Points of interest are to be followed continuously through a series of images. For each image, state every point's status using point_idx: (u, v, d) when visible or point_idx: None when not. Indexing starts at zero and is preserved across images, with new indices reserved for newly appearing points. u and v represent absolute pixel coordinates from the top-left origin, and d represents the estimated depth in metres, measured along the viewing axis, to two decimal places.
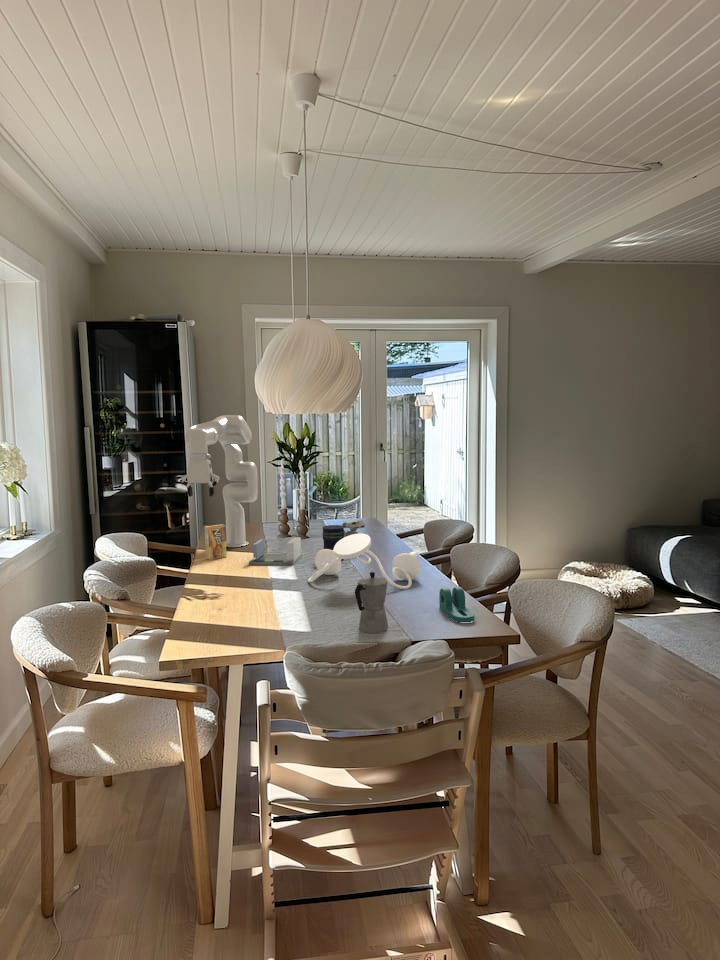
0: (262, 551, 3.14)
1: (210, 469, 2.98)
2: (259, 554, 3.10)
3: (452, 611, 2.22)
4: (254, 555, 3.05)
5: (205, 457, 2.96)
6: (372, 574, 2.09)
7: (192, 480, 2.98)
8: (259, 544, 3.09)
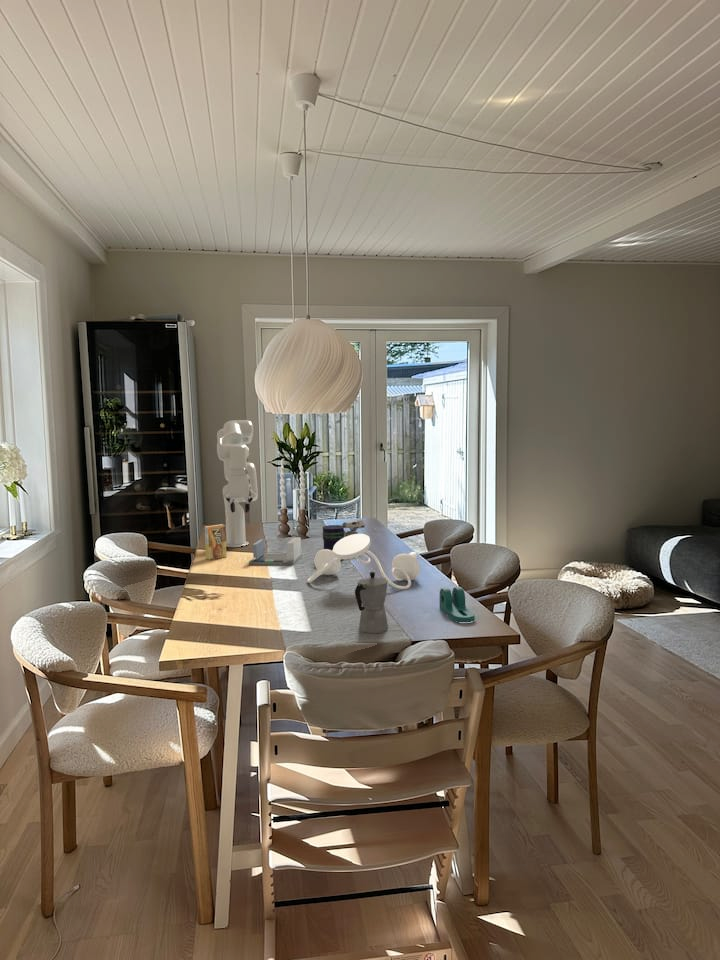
0: (262, 551, 3.14)
1: (249, 484, 3.08)
2: (259, 554, 3.10)
3: (452, 610, 2.22)
4: (254, 555, 3.05)
5: (244, 472, 3.06)
6: (372, 574, 2.09)
7: (232, 495, 3.08)
8: (259, 544, 3.09)
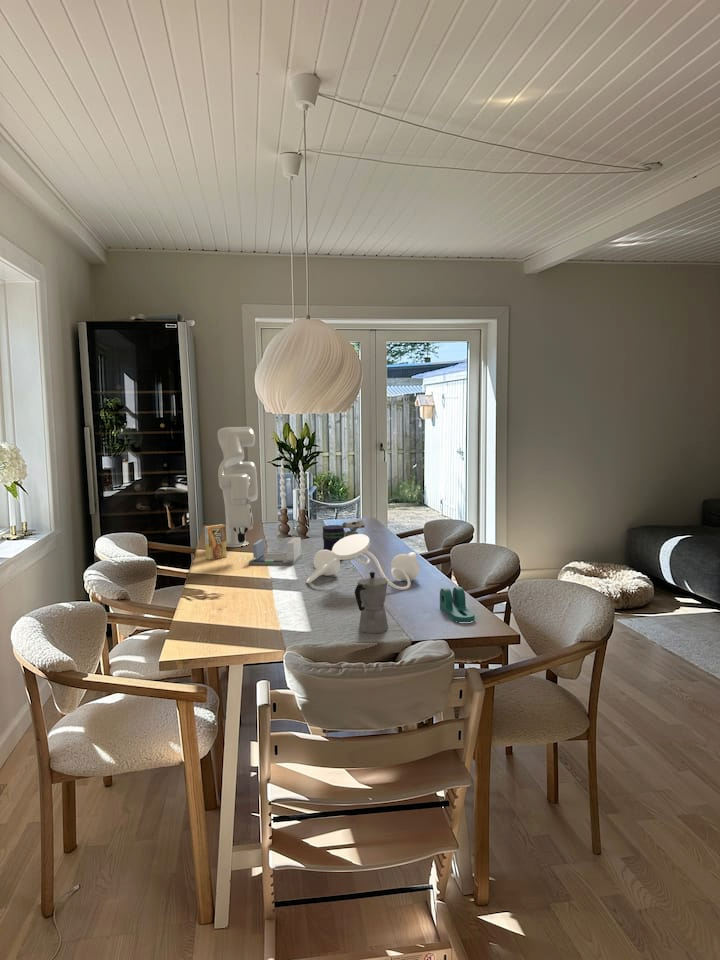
0: (262, 551, 3.14)
1: (250, 513, 3.09)
2: (259, 554, 3.10)
3: (452, 610, 2.22)
4: (254, 555, 3.05)
5: (246, 502, 3.07)
6: (372, 574, 2.09)
7: (233, 524, 3.09)
8: (259, 544, 3.09)
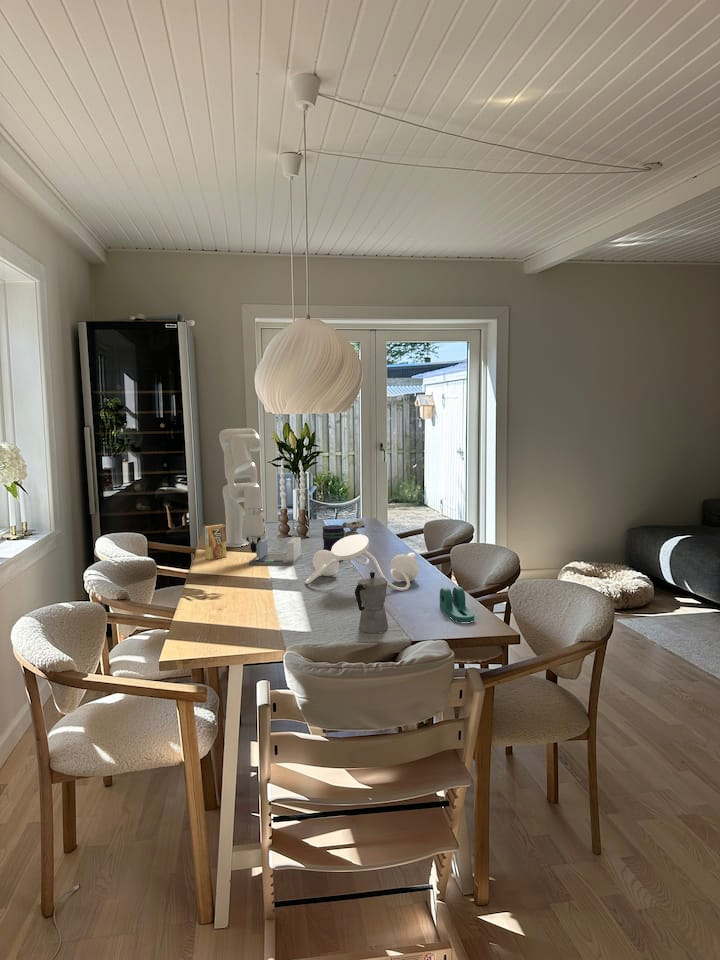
0: (265, 551, 3.14)
1: (263, 523, 3.09)
2: (263, 554, 3.09)
3: (452, 610, 2.22)
4: (257, 555, 3.05)
5: (259, 512, 3.07)
6: (372, 574, 2.09)
7: (246, 534, 3.09)
8: (262, 544, 3.09)
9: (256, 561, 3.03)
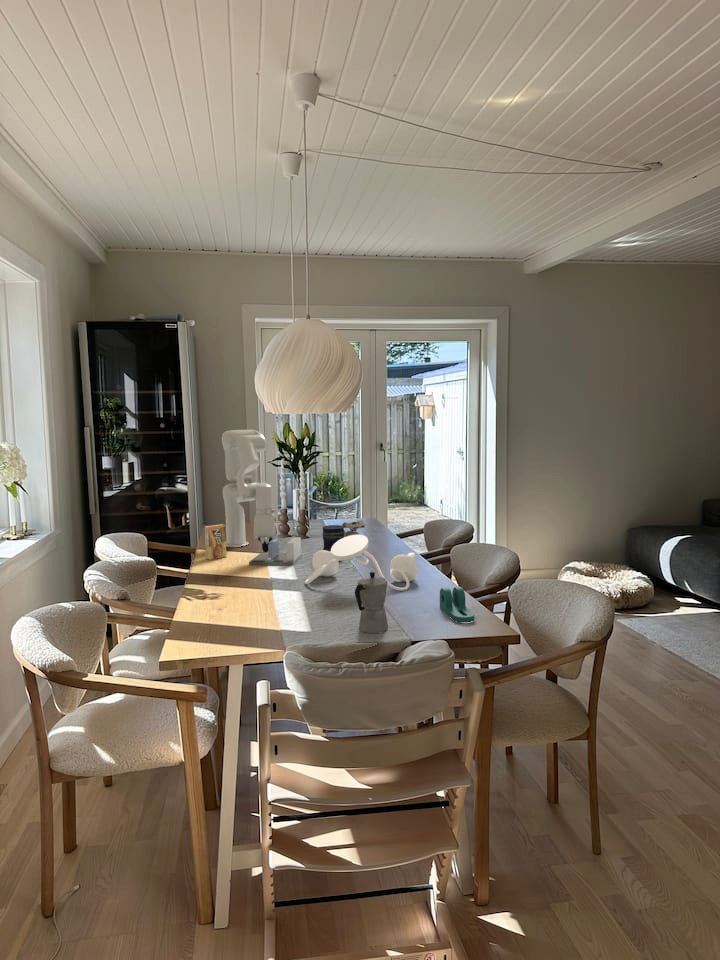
0: (277, 551, 3.13)
1: (275, 523, 3.08)
2: (274, 554, 3.09)
3: (452, 610, 2.22)
4: (269, 555, 3.04)
5: (270, 512, 3.06)
6: (372, 574, 2.09)
7: (258, 534, 3.08)
8: (274, 544, 3.08)
9: (256, 561, 3.03)
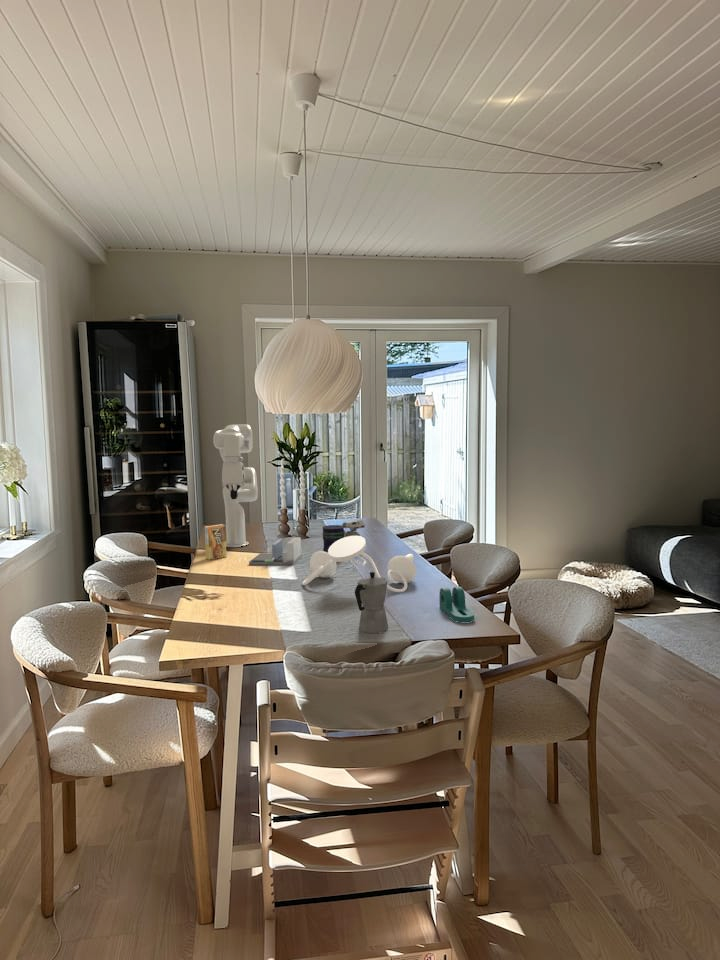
0: (281, 551, 3.13)
1: (243, 471, 3.18)
2: (278, 554, 3.08)
3: (451, 610, 2.22)
4: (273, 555, 3.04)
5: (238, 460, 3.16)
6: (372, 574, 2.09)
7: (226, 481, 3.18)
8: (278, 544, 3.08)
9: (256, 561, 3.03)
